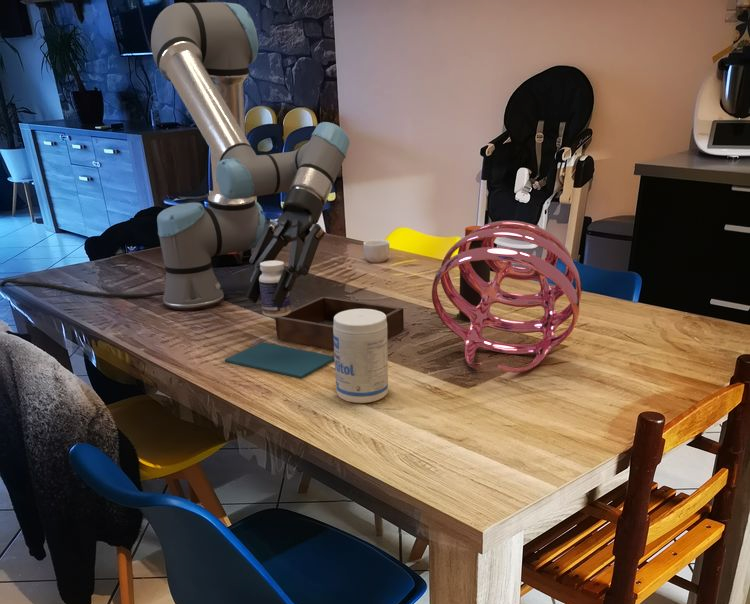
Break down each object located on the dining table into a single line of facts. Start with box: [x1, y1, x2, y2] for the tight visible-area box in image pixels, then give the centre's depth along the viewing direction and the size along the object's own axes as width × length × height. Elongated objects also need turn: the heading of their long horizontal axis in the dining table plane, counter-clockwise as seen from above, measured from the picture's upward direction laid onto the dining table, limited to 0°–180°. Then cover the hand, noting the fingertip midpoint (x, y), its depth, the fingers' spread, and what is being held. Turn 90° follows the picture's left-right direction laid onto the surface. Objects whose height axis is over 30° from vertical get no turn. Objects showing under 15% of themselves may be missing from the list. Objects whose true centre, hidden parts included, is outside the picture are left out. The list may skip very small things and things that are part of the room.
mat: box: [224, 341, 335, 379], centre depth 154 cm, size 20×12×1 cm, turn 57°
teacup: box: [362, 239, 390, 264], centre depth 223 cm, size 10×8×5 cm
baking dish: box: [211, 249, 253, 268], centre depth 228 cm, size 14×18×10 cm
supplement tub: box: [332, 309, 389, 404], centre depth 134 cm, size 10×10×15 cm
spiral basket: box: [431, 220, 583, 374], centre depth 142 cm, size 28×28×27 cm
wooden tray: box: [274, 295, 405, 351], centre depth 166 cm, size 22×18×5 cm
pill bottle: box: [259, 260, 292, 318], centre depth 147 cm, size 6×6×10 cm
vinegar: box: [458, 225, 491, 322], centre depth 169 cm, size 7×7×20 cm
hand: (263, 301), depth 145 cm, fingers closed on pill bottle, 6 cm apart
